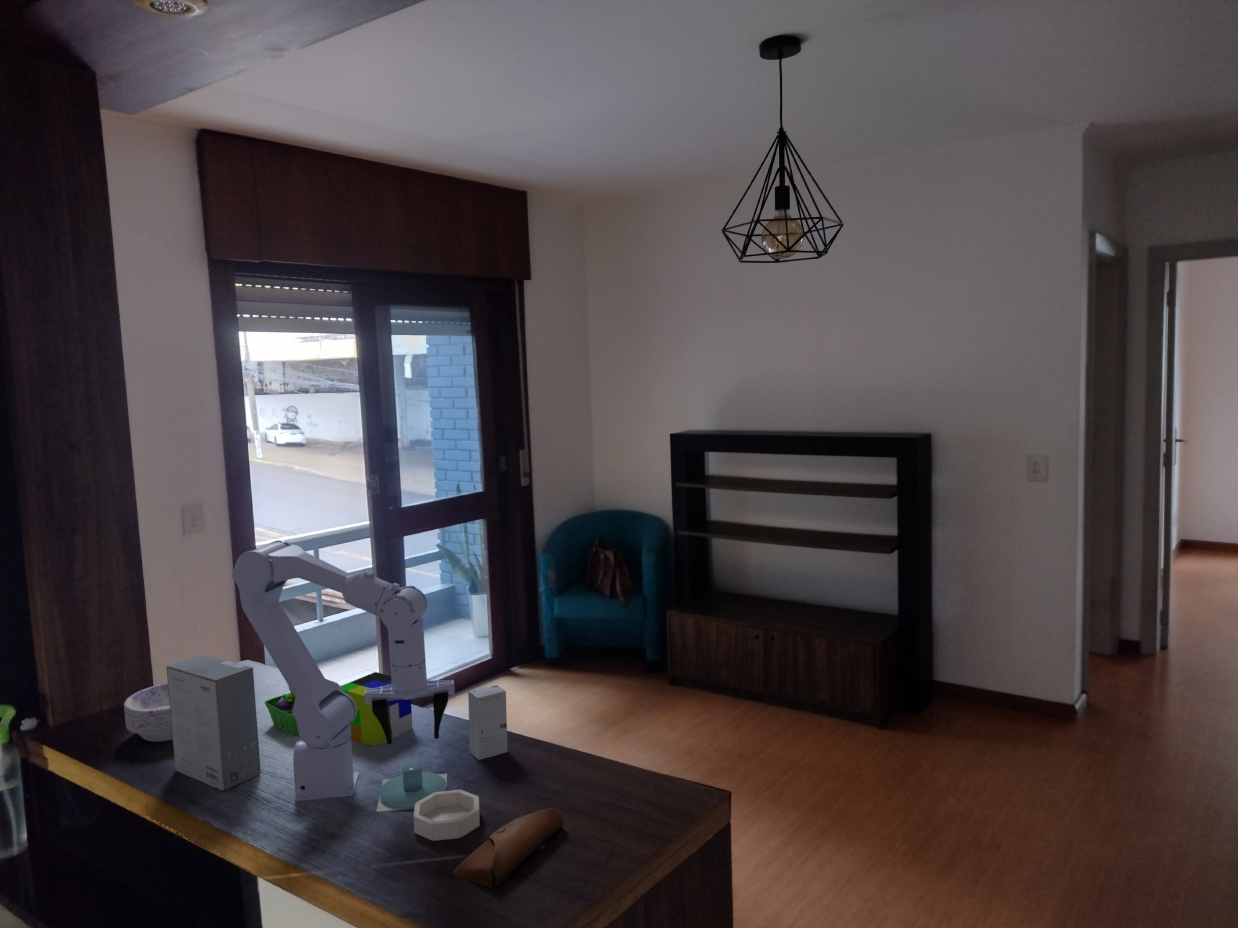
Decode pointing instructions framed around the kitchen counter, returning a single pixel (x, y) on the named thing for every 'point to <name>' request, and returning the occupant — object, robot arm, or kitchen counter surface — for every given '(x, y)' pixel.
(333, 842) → the kitchen counter surface
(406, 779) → the lid
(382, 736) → the puzzle toy
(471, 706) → the skincare box
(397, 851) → the kitchen counter surface
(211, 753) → the hard drive box
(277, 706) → the fruit basket
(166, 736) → the paper bowls
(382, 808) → the plate
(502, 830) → the sunglasses case
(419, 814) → the bowl
